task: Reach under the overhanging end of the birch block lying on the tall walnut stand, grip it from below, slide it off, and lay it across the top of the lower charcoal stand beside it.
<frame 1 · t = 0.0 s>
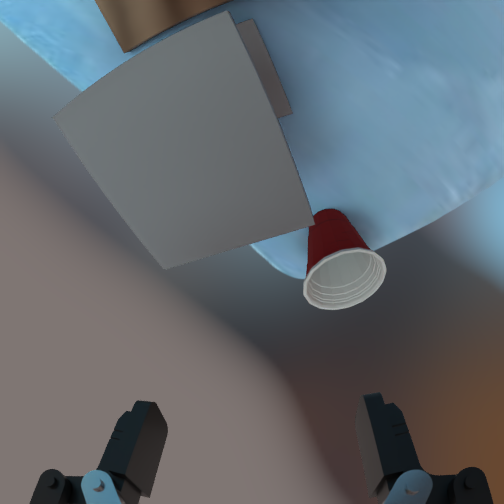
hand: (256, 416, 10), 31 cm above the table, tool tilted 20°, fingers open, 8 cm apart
charcoal stand: (223, 83, 30), on the table
plastic cup: (329, 222, 44), on the table
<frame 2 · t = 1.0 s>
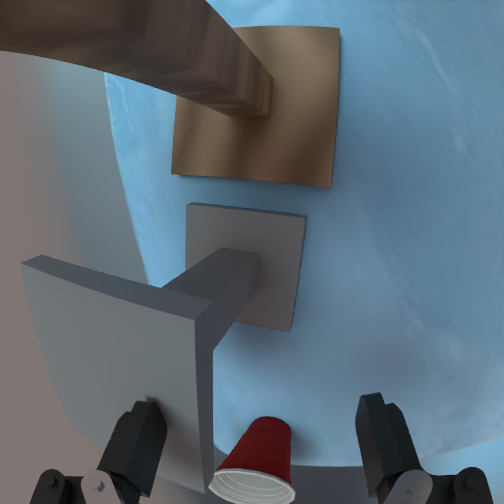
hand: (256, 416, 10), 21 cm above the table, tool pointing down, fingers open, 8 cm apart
charcoal stand: (242, 264, 32), on the table
walnut stand: (255, 100, 27), on the table
plastic cup: (273, 428, 37), on the table
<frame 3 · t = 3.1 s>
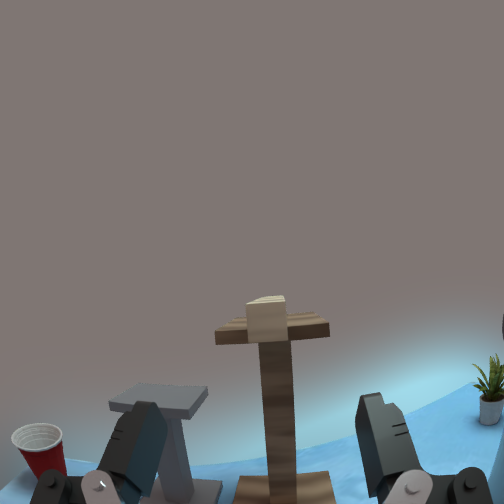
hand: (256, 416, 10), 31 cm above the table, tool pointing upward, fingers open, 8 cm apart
birch block: (272, 324, 34), point 32 cm above the table, touching walnut stand
charcoal stand: (181, 501, 35), on the table
house plant: (493, 421, 40), on the table
plastic cup: (55, 486, 31), on the table
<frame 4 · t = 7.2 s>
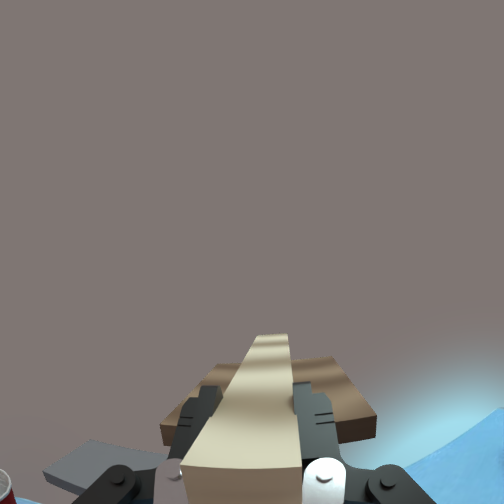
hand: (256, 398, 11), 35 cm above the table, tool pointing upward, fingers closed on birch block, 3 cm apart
birch block: (269, 405, 17), point 32 cm above the table, touching gripper, walnut stand
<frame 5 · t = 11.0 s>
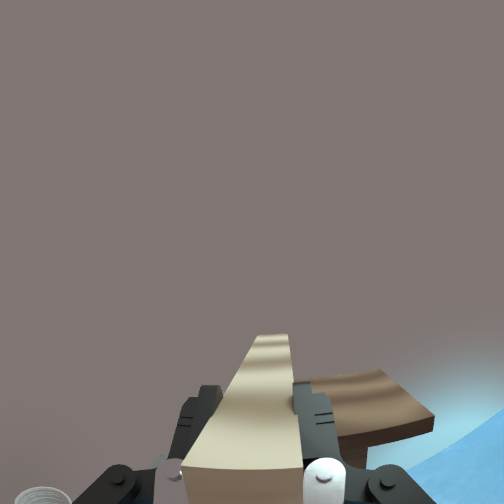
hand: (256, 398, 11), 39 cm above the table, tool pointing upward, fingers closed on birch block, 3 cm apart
birch block: (269, 405, 17), point 36 cm above the table, touching gripper
when the fingers open (26 cm above the table, at t = 14.7 s): birch block drops 2 cm, resting on charcoal stand.
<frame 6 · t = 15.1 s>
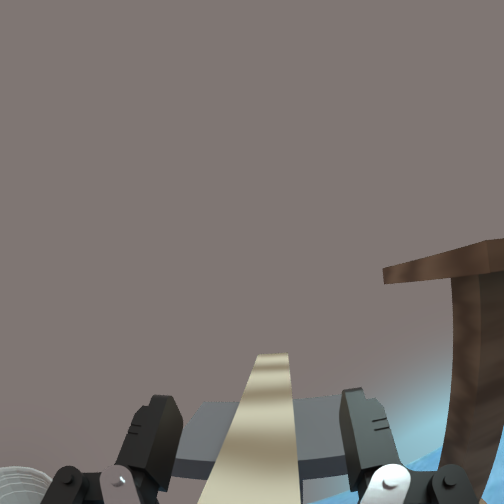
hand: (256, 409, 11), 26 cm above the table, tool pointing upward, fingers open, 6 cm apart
birch block: (270, 432, 17), point 21 cm above the table, touching charcoal stand
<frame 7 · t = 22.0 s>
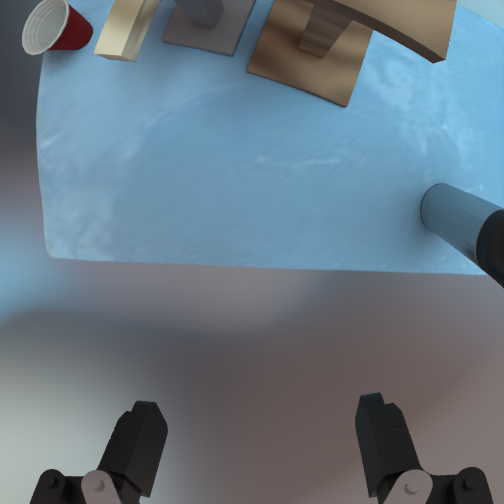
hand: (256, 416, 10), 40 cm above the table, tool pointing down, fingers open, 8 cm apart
charcoal stand: (209, 18, 36), on the table
walnut stand: (312, 46, 37), on the table
plastic cup: (80, 37, 37), on the table
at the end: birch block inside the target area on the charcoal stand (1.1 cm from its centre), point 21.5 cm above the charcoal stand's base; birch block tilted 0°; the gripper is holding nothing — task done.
